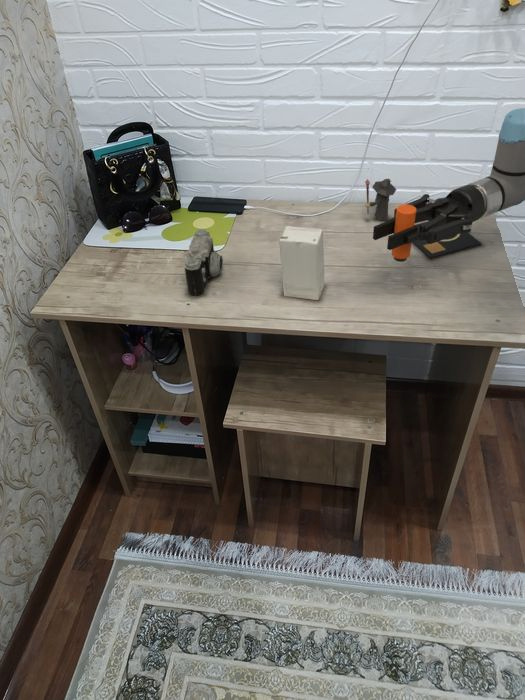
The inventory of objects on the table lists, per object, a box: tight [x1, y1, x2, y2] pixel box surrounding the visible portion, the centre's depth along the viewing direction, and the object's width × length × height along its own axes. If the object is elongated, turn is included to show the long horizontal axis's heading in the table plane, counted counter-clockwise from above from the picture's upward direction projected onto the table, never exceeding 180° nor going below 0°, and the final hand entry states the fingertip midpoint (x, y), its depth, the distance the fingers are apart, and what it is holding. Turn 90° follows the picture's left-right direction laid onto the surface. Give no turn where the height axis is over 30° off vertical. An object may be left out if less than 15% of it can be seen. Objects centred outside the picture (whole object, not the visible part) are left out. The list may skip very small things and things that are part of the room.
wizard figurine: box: [364, 178, 397, 221], centre depth 144 cm, size 8×6×12 cm
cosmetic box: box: [278, 225, 325, 301], centre depth 122 cm, size 8×6×15 cm
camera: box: [183, 228, 224, 298], centre depth 129 cm, size 15×7×10 cm, turn 173°
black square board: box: [412, 220, 482, 260], centre depth 140 cm, size 14×14×1 cm
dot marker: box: [391, 203, 416, 263], centre depth 111 cm, size 4×4×11 cm
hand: (381, 238), depth 108 cm, fingers closed on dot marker, 4 cm apart
